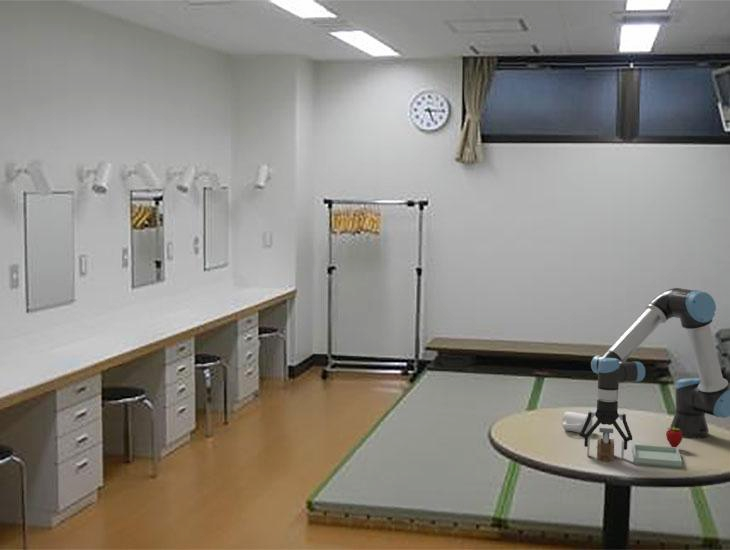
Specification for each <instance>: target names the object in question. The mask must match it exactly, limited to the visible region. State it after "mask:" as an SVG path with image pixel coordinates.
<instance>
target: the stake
mask: <svg viewBox="0 0 730 550" xmlns="http://www.w3.org/2000/svg"><path fill="white" fill-rule="evenodd" d="M598 429H599V431H598V432H599V433H602V438H603V444H609V439H610V434H614V428H609V427H599V428H598Z"/></svg>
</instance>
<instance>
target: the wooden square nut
mask: <svg viewBox="0 0 730 550" xmlns="http://www.w3.org/2000/svg"><path fill="white" fill-rule="evenodd" d="M596 446H597V447H596V448H597V450H596V460H598V461H602V462H606V463H608V462H609V461H610V462H614V461H615V460H614V459H615V439H614V438H609V444H603V437H597V444H596Z"/></svg>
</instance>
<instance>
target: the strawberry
mask: <svg viewBox="0 0 730 550" xmlns="http://www.w3.org/2000/svg"><path fill="white" fill-rule="evenodd" d="M666 429H667V431H666V434H665V436H666V440H667V442H668V443H669V445H670V447H677V448H678V446H679V445H680V444H681V442H682V440H683V438H684V437H683V435H682V433H681V431H679V430H680V428H675V426H674V427H673V428H670V427H667V428H666Z"/></svg>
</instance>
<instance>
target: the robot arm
mask: <svg viewBox="0 0 730 550" xmlns="http://www.w3.org/2000/svg"><path fill="white" fill-rule="evenodd" d="M716 311H717V305H716V302H715V299H714V298H713V296H712V295H710V293H708V292H706V291H703V290H702V291H701V290H698V289H686V288H680V287H673V288H669V289H667V290H664V291H662V293H659V294H658V295H656V296H655V297H654V298H653V299H651V301H650V302H649V303H647V305H646V306H645V311H644V312H643V313H642V314H641V315H640V316H639V317H638V318H637V319H636V320H635V322H634V323H632V324H631V325H630V327H629V328H627V329H626V331H625V332H623V333H622V335H621V336H620V337H619V338H618V339H617V340H616V341H615V342H614V343H613V345H612V346H610V348H609V349H608V350H607V351H606V352H605V353H604V354H603V355H602V354H598V355H595V356H594V357H592V360H591V361H590V367H591V370H592V372H593V373H595V374H597V393H596V394H597V395H596V396H597V397H596V398H597V401H596V411H594V412H593V411H591V410H588V412H587V415H588V418H587V420H586V422H585V424H584V426H583V428H582V430H581V432H580V433H579V436H580V437H582V438H583V439H584V447H587V450H586V451H587V452H586V456H587V457H589V456H590V445H591V441H590V440H591V437H590V436H591V435H592V433H594V431H595V430H596V429H597V428H598V426H600V424H602V425H603V426H604V425H605V426H606V425H608V426H611V425H613V427H614V428H615V429H616V431H617V432H618V434H619V435H620V437H621V438H622V439H621V451H620V452H621V454H620V455H621V457H620V458H621V460H624V457H625V456H624V454H625V453H624V451H626V450H627V449H628V442H629V441H633V435H632V433H631V430H630V427H629V425H628V422H627V417H626V416H627V415H626V413H622V414H621V413H618V409H619V408H618V407H619V406H618V405H619V404H618V403H619V402H618V399H619V388H620V387H619V384H623V383H625V384H626V383H636V382H641V381H642V380H644V378H645V376H646V368H645V366H644V364H643V363H642V362H640V361H634V360H633V361H627V359H629V357H630V356H631V355H633V353H634V352H635V351H636V350H637V349H638V348H639V347H640V346H641V345H642V344H643V342H645V341H646V340H647V338H648V337H650V335H651V334H652V333H653V332H654V331H656V329H657V328H658V327H659V326H660V324H665V323H666V322H667V321H668V320H670V319H672V318H677V319H680V323H681V326H682V328H683V329H685V330H687V335H688V338H689V339H688V340H689V342H690V346H691V349H692V350H691V351H692V354H693V358H694V362H695V366H696V369H697V373H698V376H699V377H698V378H696V377H690V378H689V377H688V378H687V377H686V378H680V379H678V380H677V381H676V388H675V409H674V416H673V418H672V422H671V423H670V426H669V428H673V427H674V426H675V428H680V430H679V431H681V433H682V435H683V438H690V437H696V438H695V439H699V438H698V437H702V438H707V437H708V436H709V426H708V422H707V420H706V414H707V415H711V416H714V417H716V418H722V419H726V418H729V417H730V385H729V381H728V380H727V379H726V378H724V377H723V373H722V369H721V364H720V361H719V358H718V353H717V349H716V345H715V342H714V337H713V334H712V333H713V332H712V329H711V324H712V323H713V318H714V317H715V315H716V313H715V312H716ZM594 416H595V417H596V421H595V422H594V423H593V425H592V427H591V428H590V429H589V431H588V432H587V433H586V434H585V431H586V429H587V426H588V424H589V422H590V420H591V418H592V419H593V418H594ZM618 418H619V419H620V421H622V424H623V426H624V429H625V432H626V434H627V436H626V434H625V432H624V431H623V429H622V428H621V426H620V425H619V424H618V422H617V420H618Z"/></svg>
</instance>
